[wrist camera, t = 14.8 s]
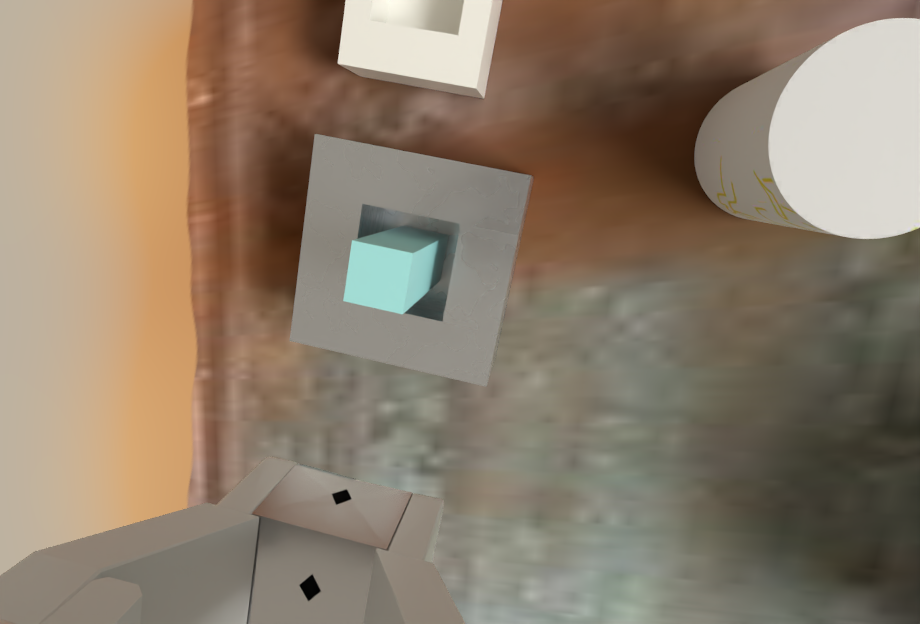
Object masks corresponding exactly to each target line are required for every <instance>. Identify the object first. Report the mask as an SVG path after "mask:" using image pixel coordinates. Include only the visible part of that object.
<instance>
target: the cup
mask: <svg viewBox="0 0 920 624" xmlns="http://www.w3.org/2000/svg"><path fill="white" fill-rule="evenodd" d="M694 161H695V169H696V174H697V177H698V180H699V182H700V185H701V187H702V188H703V190H704V192H705V193H706V195H707V196H708V197H709V198H710V199H711V201H712V202H713V203H715V204H716V205H717V206H718V207H719V208H721V209H722V210H724V211H725V212H727V213H729V214H731V215H734V216H736V217H739V218H743V219H748V220H754V221H759V222H765V223H771V224H776V225H782V226H788V227H793V228H799V229H804V230H810V231H816V232H821V233H827V234H832V235H838V236H844V237H850V238H859V239H875V238H885V237H891V236H896V235H899V234H903V233H906V232H909V231H912V230H915V229H917V228H920V19H914V18H894V19H885V20H880V21H875V22H871V23H867V24H864V25H861V26H858V27H855V28H853V29H851V30H848V31H846V32H844V33H842V34H840V35H838V36H836V37H834V38H832V39H831V40H829V41H827V42H825V43H823V44H821V45H819V46H817V47H815V48H813V49H811V50H809V51H807V52H805V53H803V54H801V55H799V56H797V57H795V58H793V59H791V60H789V61H788V62H786V63H784V64H782V65H780V66H778V67H776V68H774V69H772V70H770V71H768V72H766V73H764V74H762V75H760V76H758V77H756V78H754V79H752V80H750V81H748V82H746V83H744V84H743V85H741V86H739V87H737V88H735V89H733V90H732V91H730V92H729V93H728V94H726V95H725V96H724V97H723V98H722V99H721V100H719V101H718V102H717V103H716V105H715V106H714V107H713V108H712V109H711V111H710V112H709V113H708V115H707V116H706V118H705V120H704V121H703V123H702V125H701V128H700V130H699V133H698V136H697V140H696V144H695V152H694Z"/></svg>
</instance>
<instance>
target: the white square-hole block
mask: <svg viewBox="0 0 920 624" xmlns="http://www.w3.org/2000/svg"><path fill="white" fill-rule="evenodd" d="M502 1H503V0H346V2H345V9H344V17H343V25H342V33H341V41H340V49H339V57H338V64H339V65H341V66H343V67H344V68H346V69H348V70H350V71H351V72H353V73H355V74H357V75H358V76H361V77H366V78H372V79H377V80H383V81H388V82H394V83H399V84H405V85H410V86H416V87H421V88H427V89H432V90H438V91H443V92H449V93H454V94H460V95H465V96H471V97H476V98H482V99H484V97H485V92H486V86H487V81H488V76H489V70H490V65H491V60H492V54H493V49H494V44H495V38H496V33H497V28H498V22H499V17H500V12H501V6H502Z"/></svg>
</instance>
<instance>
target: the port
mask: <svg viewBox="0 0 920 624" xmlns="http://www.w3.org/2000/svg"><path fill="white" fill-rule="evenodd" d="M533 180H534V177H533V176H531V175H526V174H520V173H515V172H510V171H505V170H500V169H495V168H489V167H484V166H479V165H474V164H469V163H464V162H458V161H453V160H448V159H443V158H438V157H433V156H427V155H422V154H417V153H412V152H407V151H402V150H396V149H391V148H386V147H381V146H376V145H371V144H365V143H360V142H355V141H350V140H345V139H340V138H334V137H329V136H324V135H319V134H315V137H314V145H313V153H312V161H311V169H310V178H309V186H308V194H307V202H306V211H305V219H304V227H303V235H302V244H301V252H300V260H299V268H298V276H297V285H296V293H295V301H294V309H293V318H292V326H291V334H290V341H293V342H297V343H301V344H306V345H310V346H314V347H319V348H323V349H327V350H331V351H336V352H340V353H344V354H349V355H353V356H357V357H362V358H366V359H370V360H374V361H379V362H383V363H387V364H392V365H396V366H400V367H404V368H409V369H413V370H417V371H422V372H426V373H430V374H435V375H439V376H443V377H447V378H452V379H456V380H460V381H465V382H469V383H473V384H477V385H482V386H486V387H487V383H488V380H489V377H490V373H491V370H492V367H493V363H494V360H495V357H496V352H497V348H498V343H499V338H500V334H501V329H502V324H503V320H504V315H505V310H506V306H507V301H508V296H509V292H510V287H511V282H512V278H513V273H514V268H515V264H516V259H517V254H518V250H519V245H520V240H521V236H522V231H523V226H524V222H525V217H526V212H527V208H528V203H529V198H530V194H531V189H532V184H533ZM400 226H408V227H413V228H418V229H422V230H427V231H432V232H437V233H442V234H446V235H449V236H448V242H447V247H446V253H445V258H444V264H443V269H442V274H441V280H440V281H439V282H438V283H437V284H436V285H435V286H434V287H433V288H432V289H430V290H429V291H428V292H427V293H426V294H425V295H424V296H423V297H422V298H420V299H419V300H418V301H417V302H416V303H415V304H414V305H413V306H412V307H410V308H409V309H408V310H407V311H406V312H405V313H404V314H399V313H394V312H390V311H385V310H381V309H376V308H372V307H367V306H363V305H358V304H354V303H350V302H345V301H343V300H344V293H345V286H346V279H347V272H348V265H349V258H350V251H351V244H352V240H355V239H358V238H362V237H365V236H369V235H372V234H376V233H379V232H383V231H386V230H390V229H393V228H396V227H400Z"/></svg>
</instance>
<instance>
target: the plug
mask: <svg viewBox="0 0 920 624" xmlns="http://www.w3.org/2000/svg"><path fill="white" fill-rule="evenodd" d="M448 236H449V235H446V234H442V233H437V232H432V231H427V230H422V229H418V228H413V227H408V226H400V227H396V228H393V229H390V230H386V231H383V232H379V233H376V234H372V235H369V236H365V237H362V238H358V239H355V240H352V244H351V251H350V258H349V265H348V272H347V279H346V286H345V293H344V300H343V301H345V302H350V303H354V304H358V305H363V306H367V307H372V308H376V309H381V310H385V311H390V312H394V313H399V314H404V313H405V312H406V311H407V310H408V309H409V308H410V307H412V306H413V305H414V304H415V303H416V302H417V301H418V300H419V299H420V298H422V297H423V296H424V295H425V294H426V293H427V292H428V291H429V290H430V289H432V288H433V287H434V286H435V285H436V284H437V283H438V282H439V281H440V280H441V274H442V269H443V264H444V258H445V253H446V247H447V242H448Z"/></svg>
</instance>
